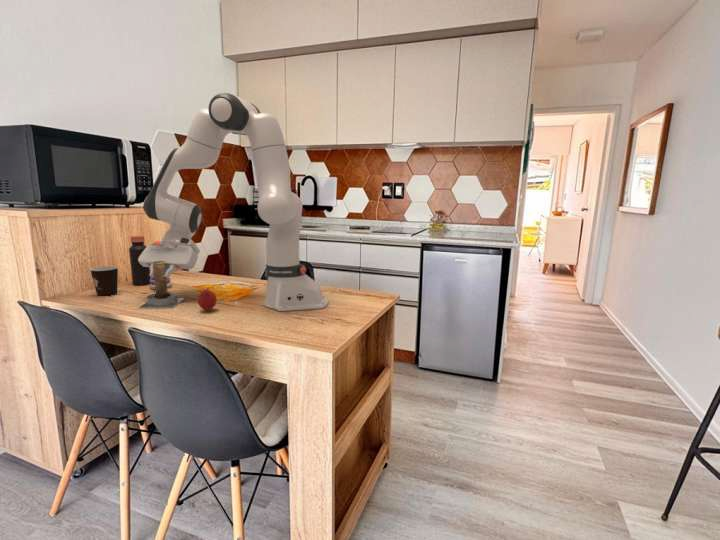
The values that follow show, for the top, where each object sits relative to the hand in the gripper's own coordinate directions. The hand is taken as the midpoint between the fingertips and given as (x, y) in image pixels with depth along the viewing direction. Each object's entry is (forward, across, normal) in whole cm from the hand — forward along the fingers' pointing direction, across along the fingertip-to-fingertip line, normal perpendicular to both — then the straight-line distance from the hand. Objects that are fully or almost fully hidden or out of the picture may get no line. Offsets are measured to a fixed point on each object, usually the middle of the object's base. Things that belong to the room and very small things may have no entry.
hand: (158, 277), depth 135 cm
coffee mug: (+2, -29, +12) cm, 31 cm away
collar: (+6, 0, +7) cm, 10 cm away
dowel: (+4, 0, +5) cm, 7 cm away
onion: (+9, +20, +4) cm, 22 cm away
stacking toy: (-7, -16, +21) cm, 27 cm away
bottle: (-10, -27, +24) cm, 37 cm away
